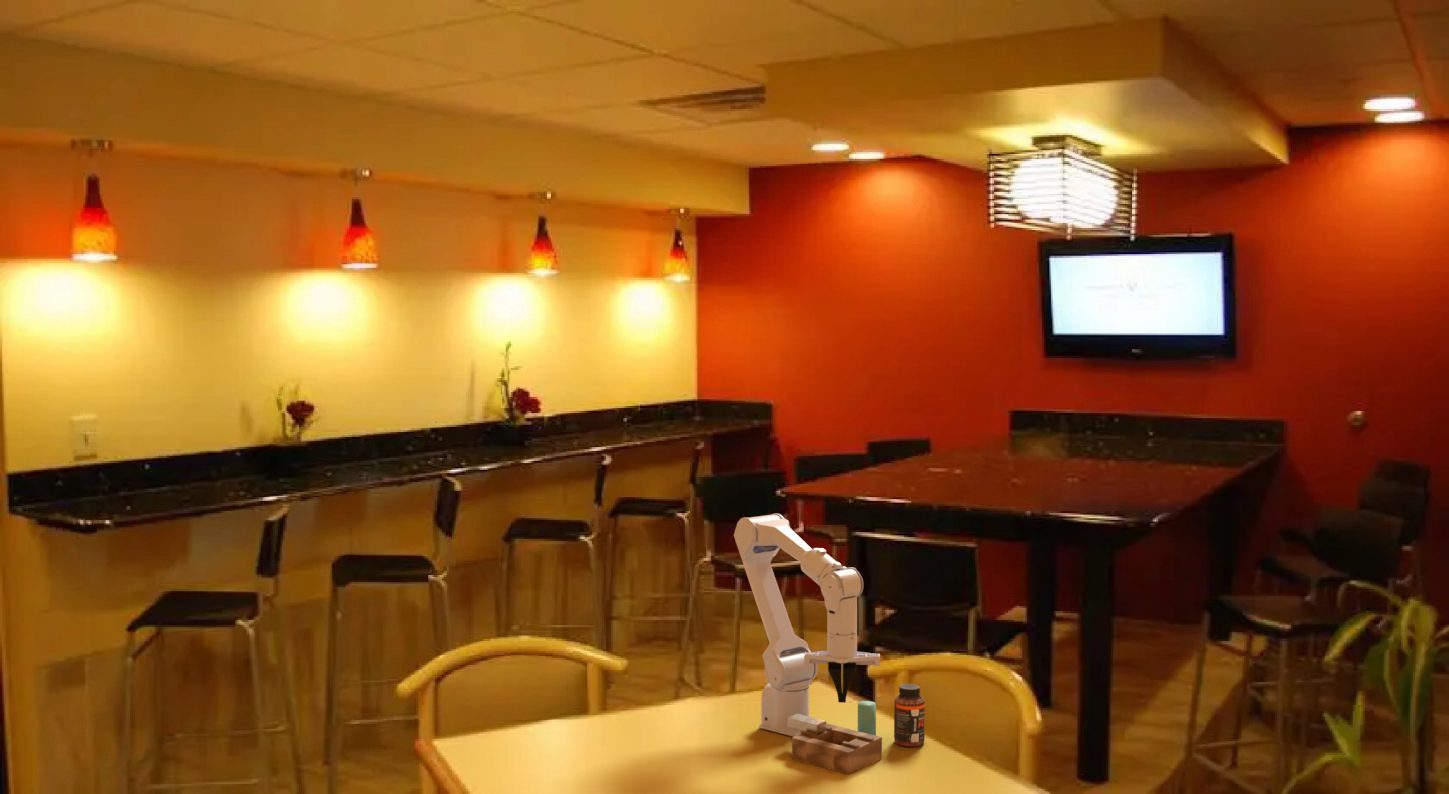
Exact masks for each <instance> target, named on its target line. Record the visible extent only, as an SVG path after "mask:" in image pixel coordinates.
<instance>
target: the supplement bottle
mask: <svg viewBox="0 0 1449 794" xmlns="http://www.w3.org/2000/svg"><path fill="white" fill-rule="evenodd" d="M898 692H899V695H896V696H895V698H894V703H893V704H894V707H893V711H894V712H893V714H894V715H893V718H894V719H893V720H894V722H893V723H894V724H893V732H894V733H893V738H894V742H895V744H897V745H899V746H902V747H905V746H906V747H908V748H910V747H911V748H916V747H917V748H918V747H920V746H923V744H925V735H926V734H925V733H926V732H925V731H926V730H925V729H926V726H925V725H926V724H925V723H926V722H925V721H926V718H925V716H926V714H925V712H926V707H925V706H926V705H925V704H926V700H925V698H923V696H921V695H920V694H921V687H920V686H919V685H918V684H914V683H903V684H900V685H899V690H898Z"/></svg>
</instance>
